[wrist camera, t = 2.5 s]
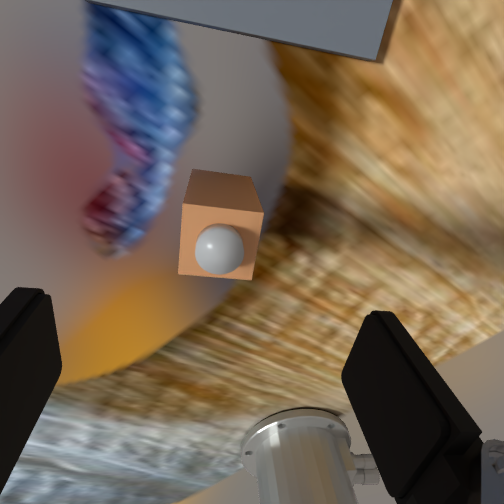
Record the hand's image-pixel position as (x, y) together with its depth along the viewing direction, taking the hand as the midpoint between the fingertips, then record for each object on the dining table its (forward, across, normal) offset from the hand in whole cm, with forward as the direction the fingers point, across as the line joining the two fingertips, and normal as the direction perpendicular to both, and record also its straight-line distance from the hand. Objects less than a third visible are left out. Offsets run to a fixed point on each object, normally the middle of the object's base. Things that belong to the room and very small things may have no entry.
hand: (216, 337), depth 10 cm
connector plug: (+14, 0, +1) cm, 14 cm away
